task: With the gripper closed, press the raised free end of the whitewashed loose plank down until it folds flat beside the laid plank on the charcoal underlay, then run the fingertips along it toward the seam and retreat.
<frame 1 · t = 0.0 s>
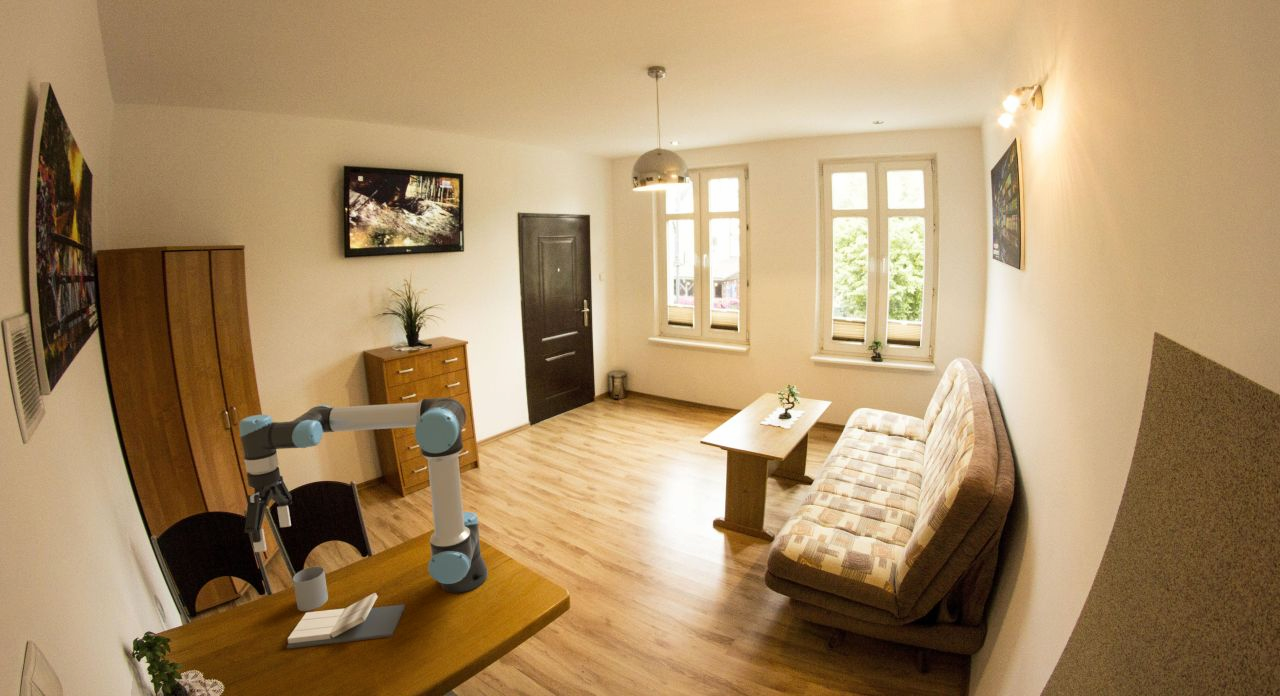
hand: (273, 538, 152), 28 cm above the table, fingers open, 13 cm apart
cup: (313, 602, 167), on the table
loose plank: (354, 614, 155), point 4 cm above the table, hinge at 25.0°
floor section: (349, 626, 155), on the table
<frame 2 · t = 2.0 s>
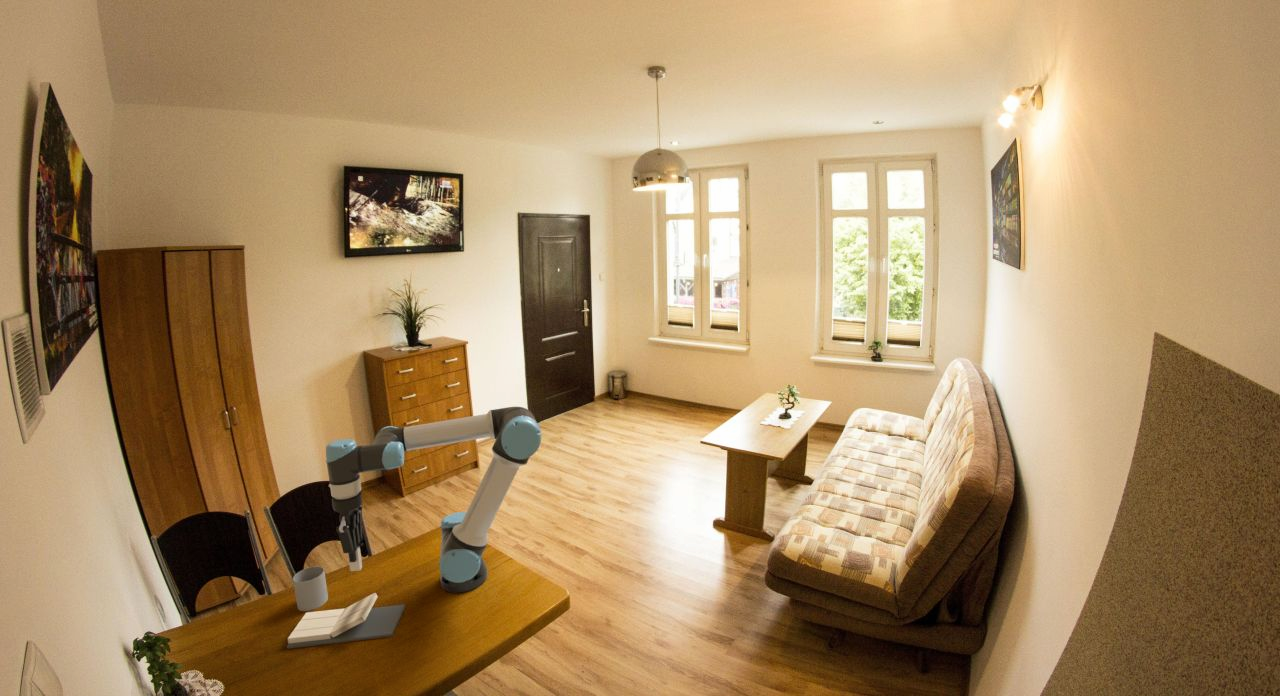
hand: (356, 569, 153), 18 cm above the table, fingers closed
nothing on the table moved.
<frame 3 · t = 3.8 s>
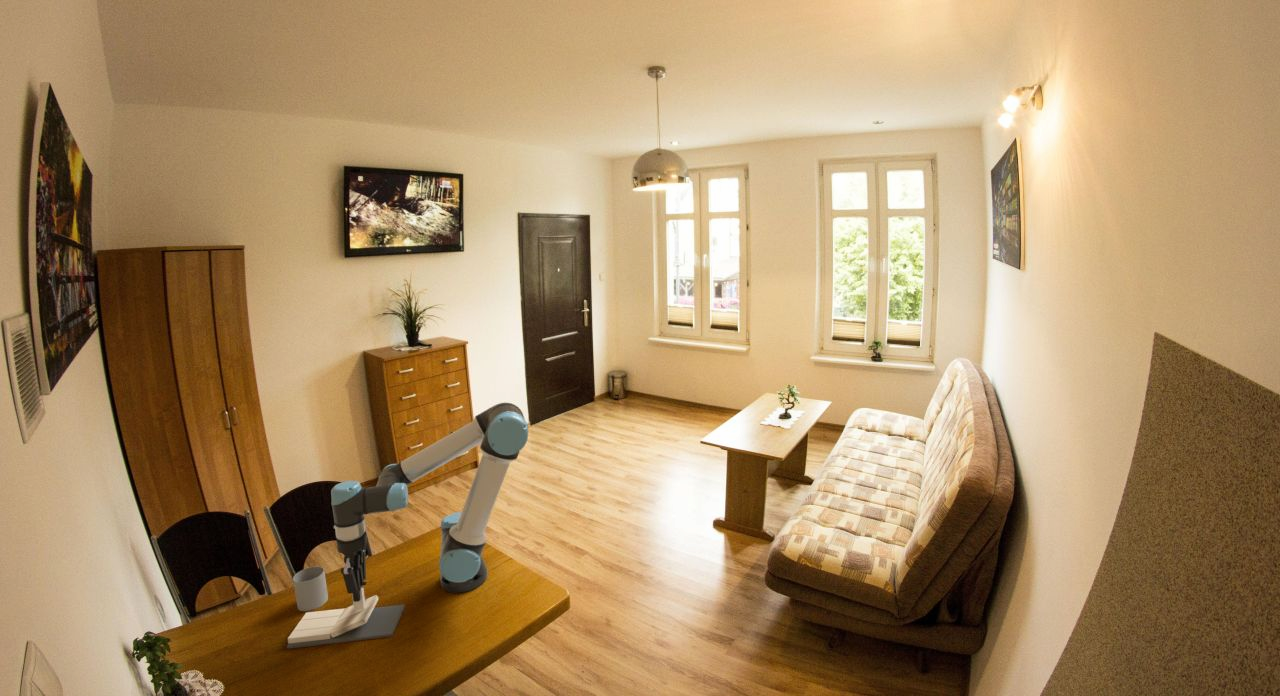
hand: (359, 608, 155), 6 cm above the table, fingers closed
loose plank: (355, 615, 155), point 3 cm above the table, hinge at 20.2°, touching gripper
everything else where it was.
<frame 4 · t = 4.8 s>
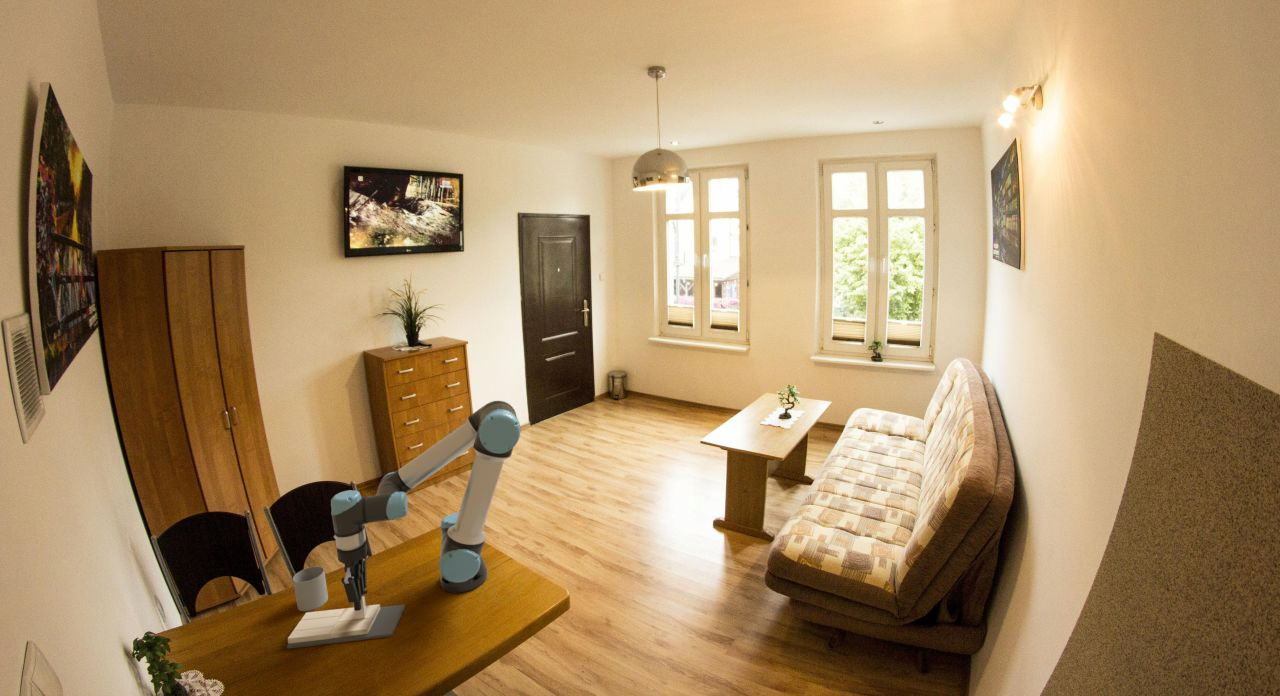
hand: (361, 616, 155), 3 cm above the table, fingers closed
loose plank: (356, 620, 155), point 2 cm above the table, hinge at 0.8°, touching gripper
everything else where it was.
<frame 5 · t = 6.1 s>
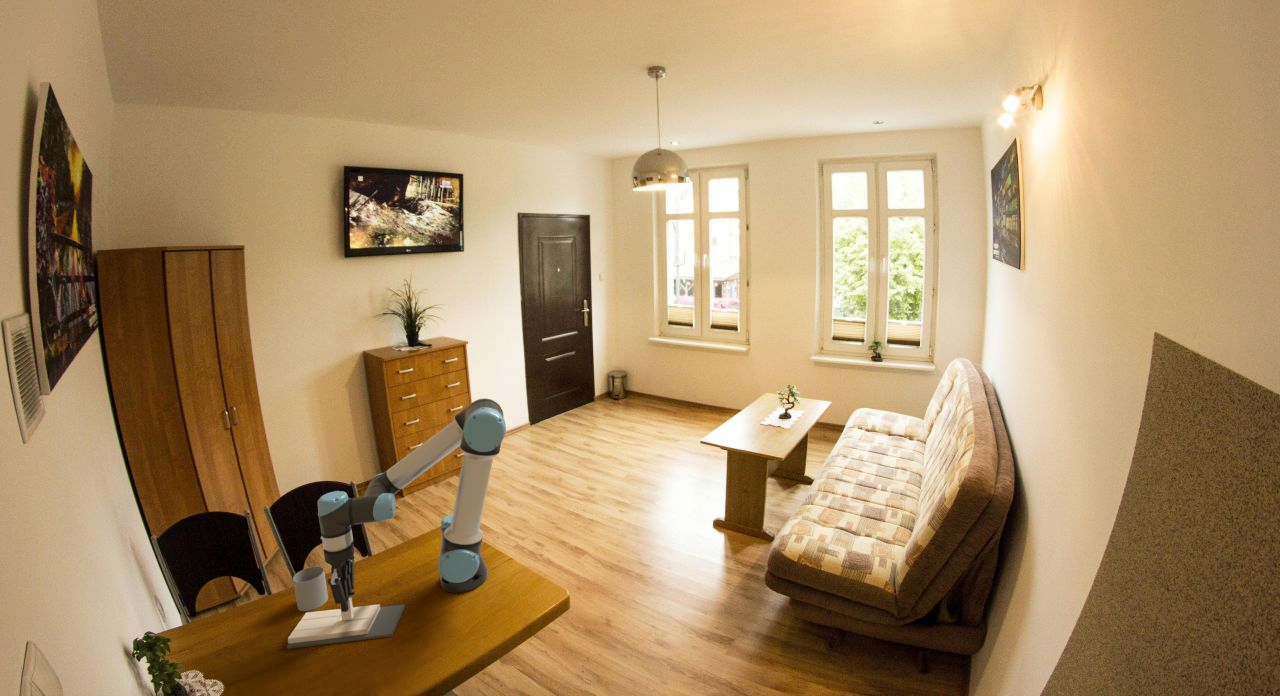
hand: (348, 618, 155), 3 cm above the table, fingers closed
loose plank: (356, 620, 155), point 2 cm above the table, hinge at 0.7°
everything else where it was.
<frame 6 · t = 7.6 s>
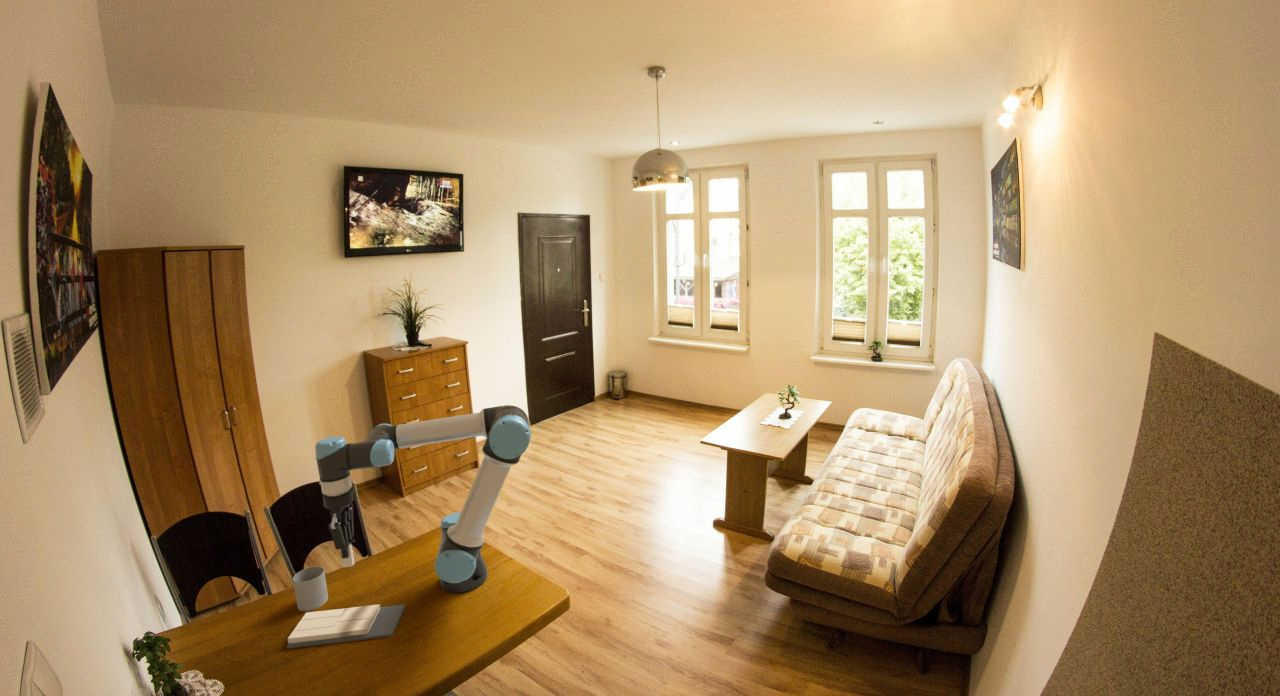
hand: (348, 565, 154), 19 cm above the table, fingers closed
nothing on the table moved.
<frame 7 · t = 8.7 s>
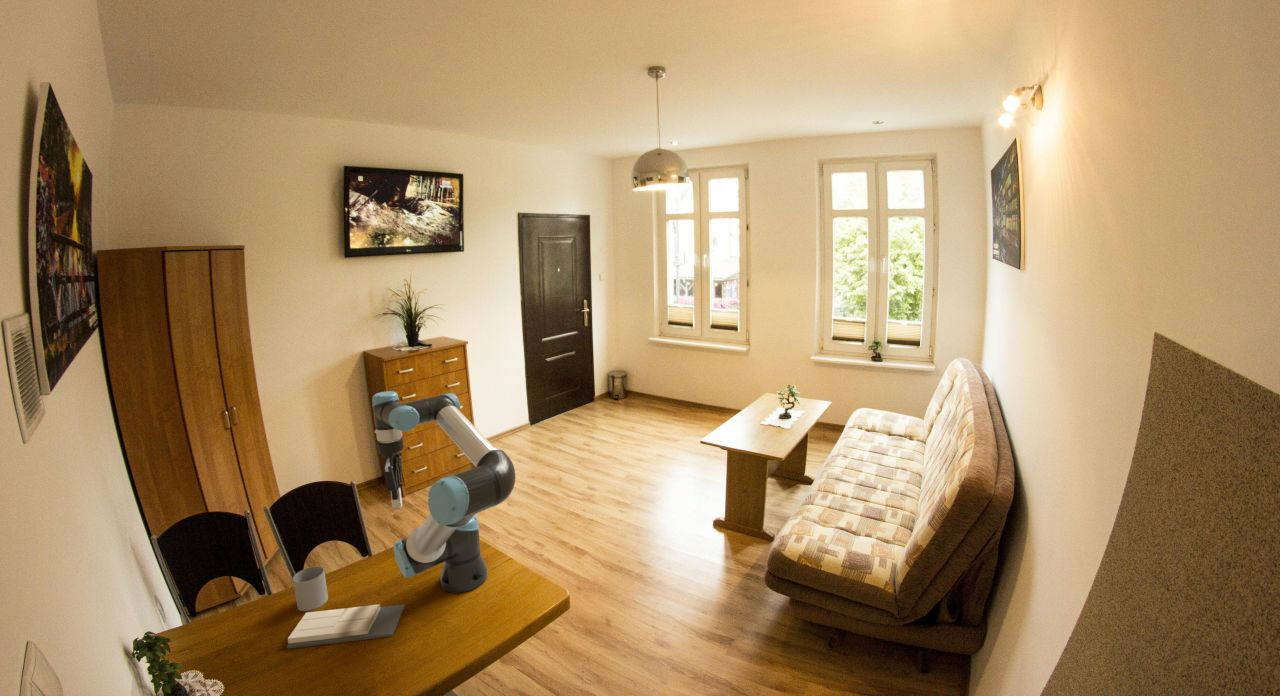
hand: (397, 506, 173), 26 cm above the table, fingers closed
nothing on the table moved.
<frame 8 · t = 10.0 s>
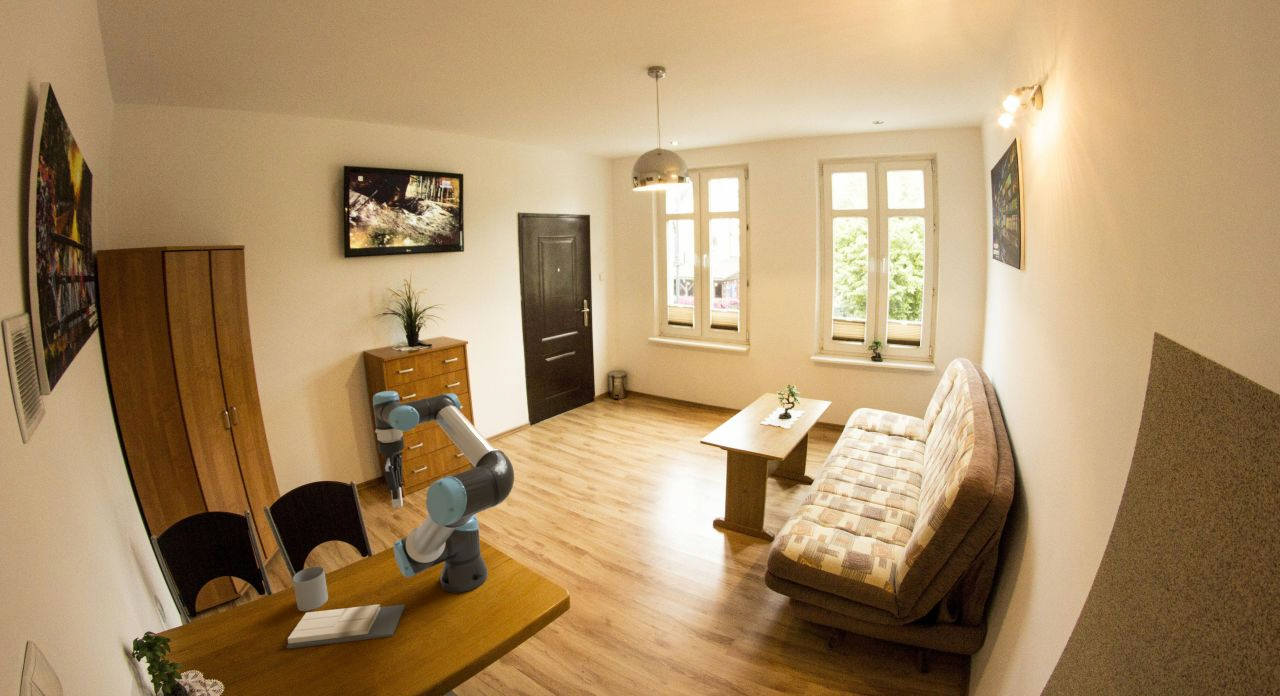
hand: (397, 506, 173), 26 cm above the table, fingers closed
nothing on the table moved.
at the end: loose plank at +1° (first picture: +25°) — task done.
